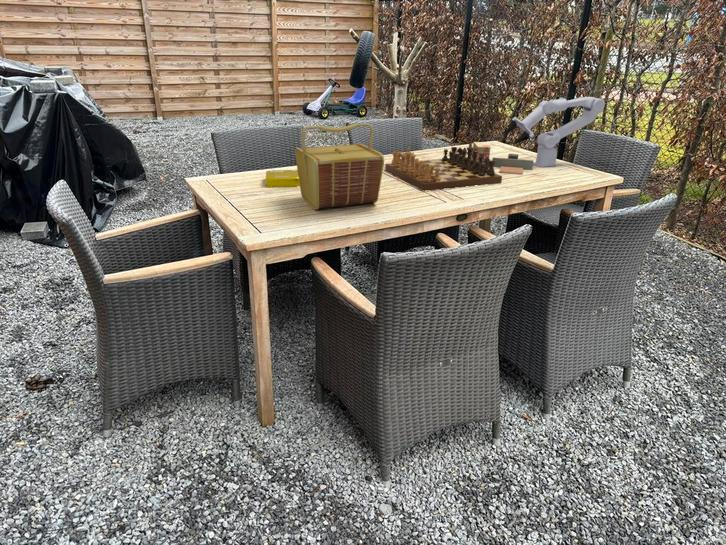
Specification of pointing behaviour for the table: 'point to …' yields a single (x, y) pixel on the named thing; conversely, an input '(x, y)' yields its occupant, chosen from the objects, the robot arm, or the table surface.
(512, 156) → the letter cube
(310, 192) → the picnic basket
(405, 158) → the chess set
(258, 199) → the table surface
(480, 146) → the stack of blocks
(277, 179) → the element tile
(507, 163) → the screen
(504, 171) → the tile
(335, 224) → the table surface
